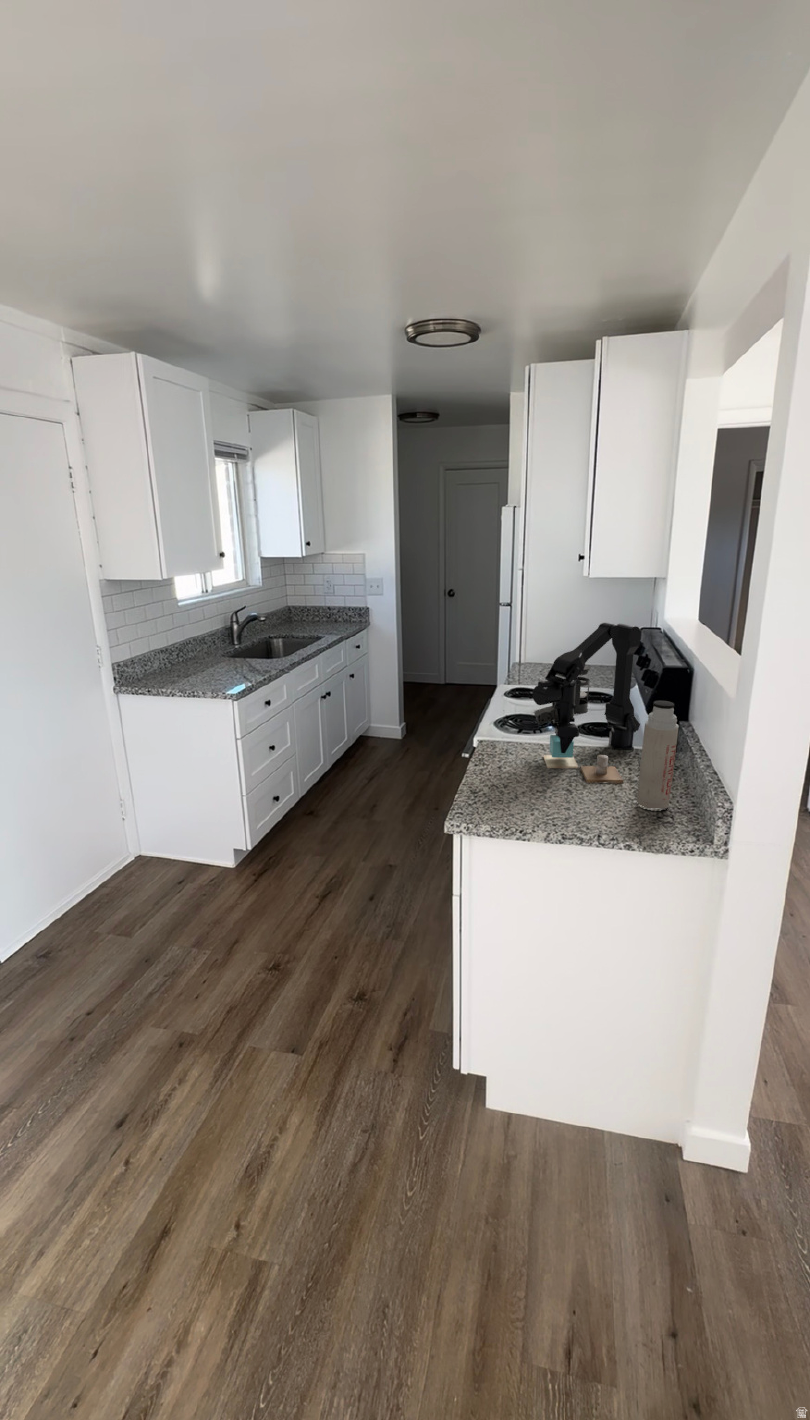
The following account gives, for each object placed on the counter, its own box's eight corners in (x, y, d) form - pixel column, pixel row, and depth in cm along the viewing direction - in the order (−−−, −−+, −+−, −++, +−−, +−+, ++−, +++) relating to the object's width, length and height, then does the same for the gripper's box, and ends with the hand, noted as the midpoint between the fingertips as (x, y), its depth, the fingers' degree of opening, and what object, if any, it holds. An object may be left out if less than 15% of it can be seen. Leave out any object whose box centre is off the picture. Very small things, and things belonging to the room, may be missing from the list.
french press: (588, 706, 257) (592, 648, 251) (591, 714, 249) (596, 653, 242) (556, 705, 259) (560, 647, 252) (558, 713, 250) (562, 652, 243)
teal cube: (569, 750, 205) (570, 735, 203) (572, 757, 199) (573, 741, 198) (549, 750, 205) (550, 734, 204) (552, 757, 200) (553, 741, 198)
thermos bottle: (675, 807, 173) (688, 704, 164) (653, 814, 169) (665, 709, 161) (651, 796, 180) (663, 696, 171) (629, 802, 176) (640, 700, 168)
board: (572, 757, 207) (572, 755, 207) (578, 768, 199) (578, 766, 198) (543, 756, 208) (543, 755, 207) (547, 767, 199) (547, 766, 199)
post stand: (614, 769, 198) (616, 750, 196) (623, 783, 188) (625, 763, 186) (580, 769, 198) (581, 750, 196) (587, 782, 189) (588, 762, 187)
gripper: (533, 690, 206) (530, 738, 211) (541, 708, 189) (538, 760, 193) (569, 691, 206) (566, 738, 211) (581, 709, 188) (577, 760, 193)
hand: (561, 749), depth 202 cm, fingers closed on teal cube, 6 cm apart
